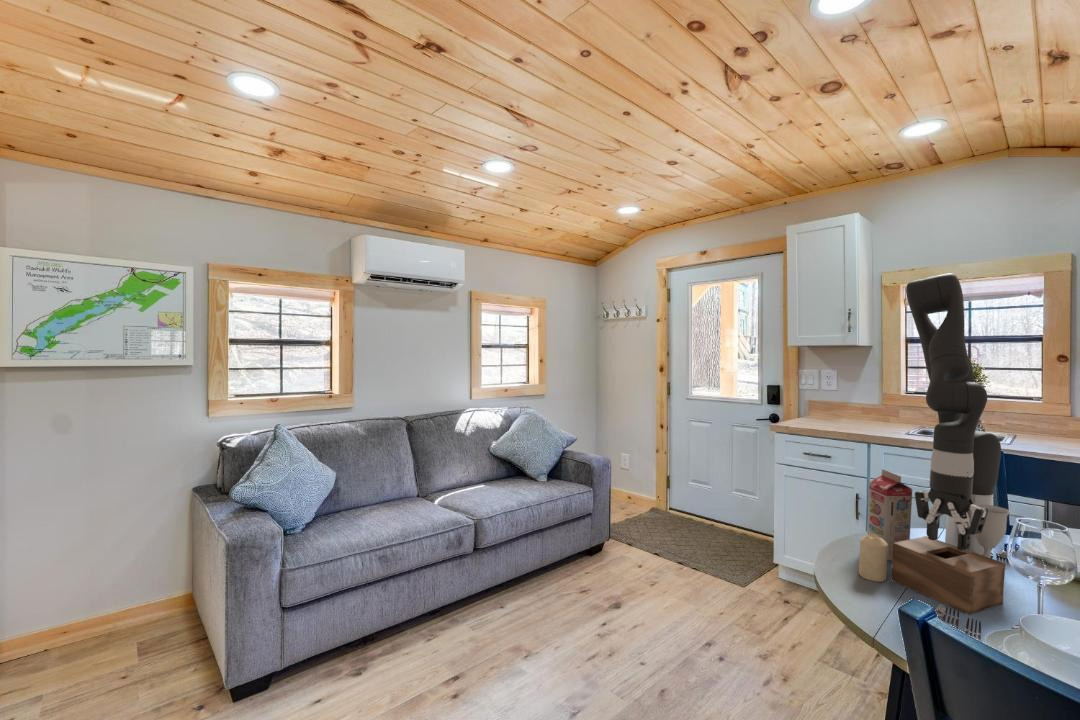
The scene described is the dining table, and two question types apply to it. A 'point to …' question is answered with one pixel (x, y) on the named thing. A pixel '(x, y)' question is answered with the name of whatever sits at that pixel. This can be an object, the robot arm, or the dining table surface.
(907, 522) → the juice carton
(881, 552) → the candle
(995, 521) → the chalice
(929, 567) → the box
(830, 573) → the dining table surface
